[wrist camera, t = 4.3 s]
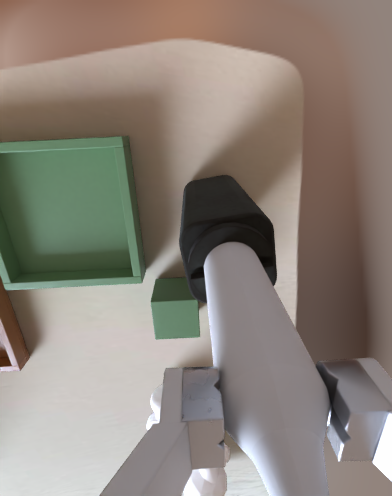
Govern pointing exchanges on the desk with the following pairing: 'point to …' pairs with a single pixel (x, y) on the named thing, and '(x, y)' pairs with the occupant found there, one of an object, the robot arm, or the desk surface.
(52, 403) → the desk surface
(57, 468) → the desk surface
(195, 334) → the green block
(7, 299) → the wood tray
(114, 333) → the desk surface
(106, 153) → the green tray
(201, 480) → the figure
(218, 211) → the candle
